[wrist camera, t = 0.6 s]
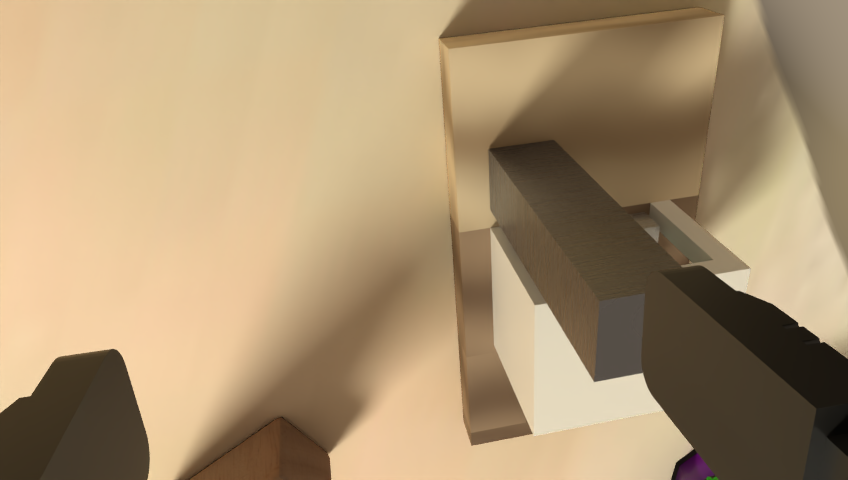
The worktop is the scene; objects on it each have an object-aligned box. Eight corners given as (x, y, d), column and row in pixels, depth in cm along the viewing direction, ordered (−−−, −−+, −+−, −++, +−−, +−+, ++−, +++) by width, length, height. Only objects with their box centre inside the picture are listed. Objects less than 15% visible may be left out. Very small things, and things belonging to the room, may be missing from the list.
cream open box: (490, 227, 31) (534, 305, 25) (669, 199, 32) (750, 268, 26) (494, 345, 34) (533, 436, 29) (655, 316, 35) (724, 398, 30)
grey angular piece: (488, 149, 29) (599, 301, 18) (653, 125, 30) (848, 258, 19) (494, 340, 34) (583, 542, 24) (634, 315, 35) (779, 499, 25)
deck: (438, 38, 28) (448, 48, 26) (699, 7, 30) (724, 15, 28) (463, 420, 39) (471, 445, 38) (652, 384, 41) (668, 407, 39)
